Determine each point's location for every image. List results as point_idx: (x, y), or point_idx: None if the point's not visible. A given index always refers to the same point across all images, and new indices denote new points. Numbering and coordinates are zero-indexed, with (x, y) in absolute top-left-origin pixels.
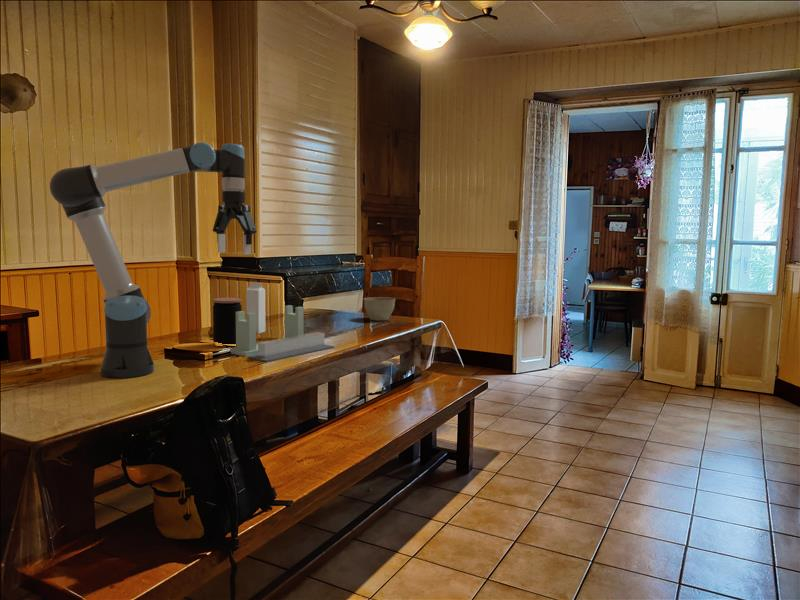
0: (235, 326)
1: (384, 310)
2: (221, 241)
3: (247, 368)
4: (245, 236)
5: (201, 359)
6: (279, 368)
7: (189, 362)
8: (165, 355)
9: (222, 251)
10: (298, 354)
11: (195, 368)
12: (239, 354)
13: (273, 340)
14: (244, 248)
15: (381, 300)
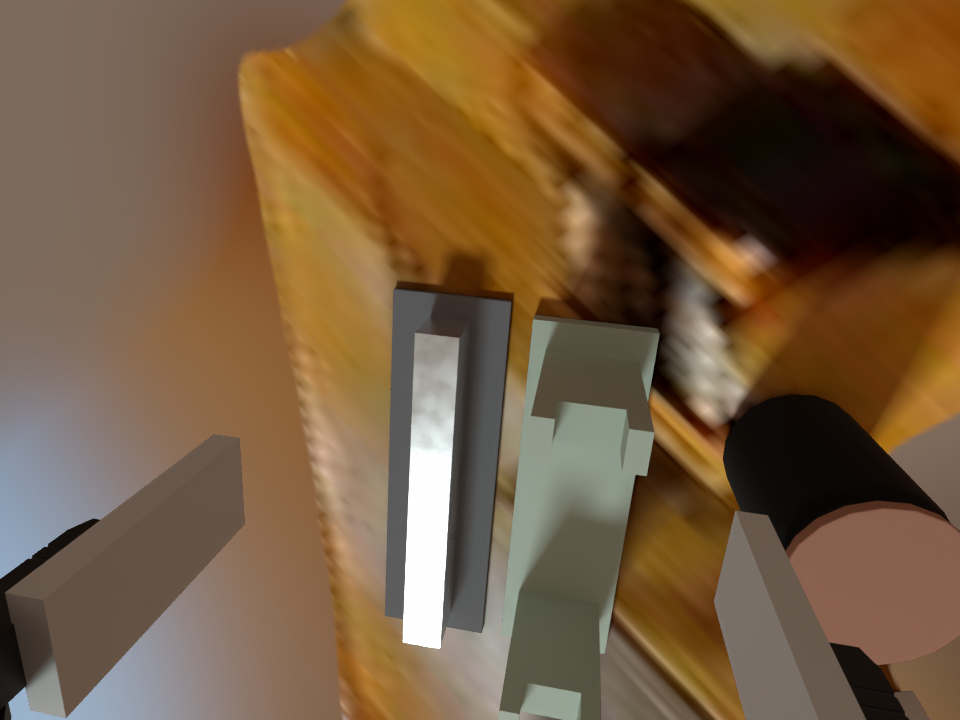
0: (743, 482)
1: None
2: (768, 666)
3: (373, 161)
4: (30, 590)
5: (658, 159)
6: (285, 237)
7: (657, 79)
8: (884, 108)
9: (726, 567)
10: (390, 446)
11: (540, 14)
12: (580, 320)
13: (446, 414)
14: (172, 470)
15: None
